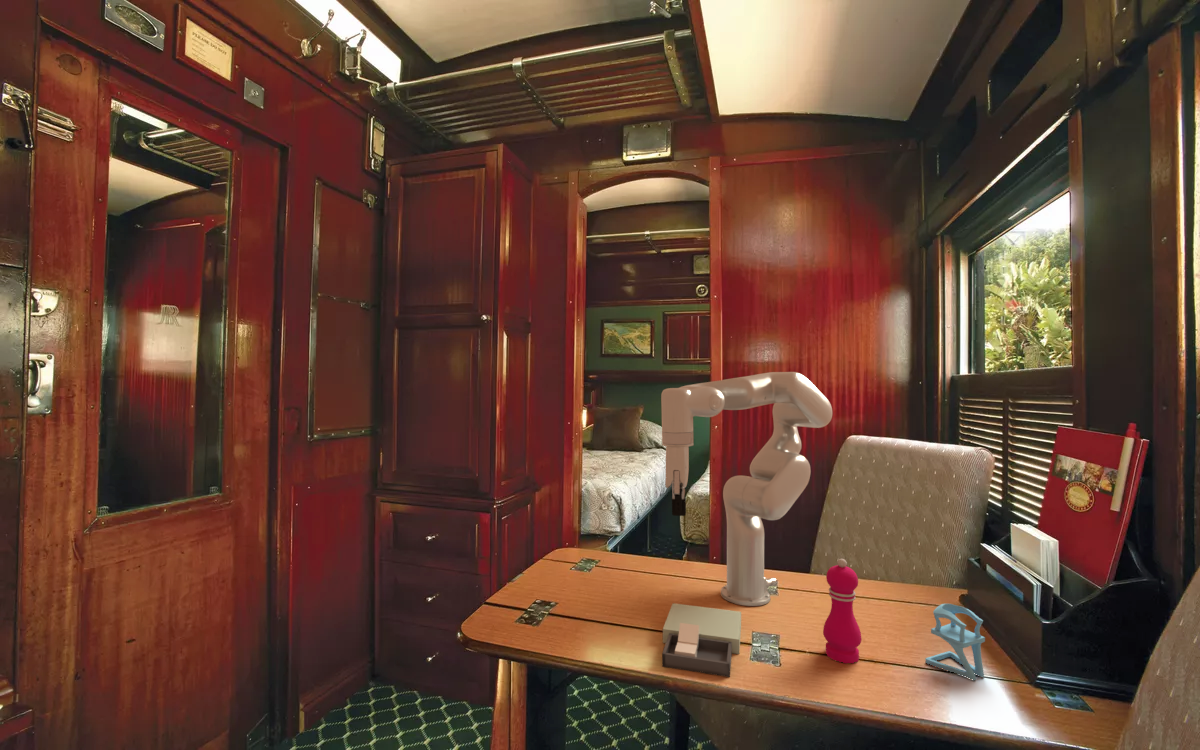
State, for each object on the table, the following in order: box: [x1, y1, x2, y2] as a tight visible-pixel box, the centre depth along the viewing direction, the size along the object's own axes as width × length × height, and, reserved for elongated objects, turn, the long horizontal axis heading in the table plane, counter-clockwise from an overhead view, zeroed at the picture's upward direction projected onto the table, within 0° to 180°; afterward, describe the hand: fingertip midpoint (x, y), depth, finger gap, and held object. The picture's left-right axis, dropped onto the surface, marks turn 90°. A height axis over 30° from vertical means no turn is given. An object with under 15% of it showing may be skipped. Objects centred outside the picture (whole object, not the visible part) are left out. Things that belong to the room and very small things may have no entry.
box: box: [661, 633, 733, 678], centre depth 107 cm, size 9×13×2 cm
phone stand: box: [924, 603, 986, 681], centre depth 105 cm, size 8×8×12 cm
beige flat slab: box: [662, 602, 742, 655], centre depth 119 cm, size 14×16×3 cm
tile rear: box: [678, 623, 700, 649], centre depth 111 cm, size 4×4×2 cm
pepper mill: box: [822, 558, 862, 664], centre depth 110 cm, size 7×7×20 cm
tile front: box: [675, 642, 697, 657], centre depth 107 cm, size 4×4×2 cm
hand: (679, 514), depth 128 cm, fingers closed
